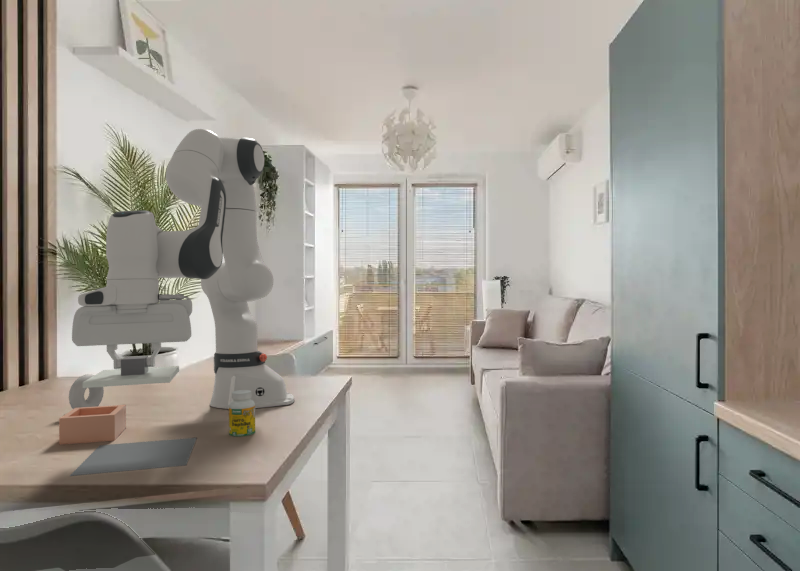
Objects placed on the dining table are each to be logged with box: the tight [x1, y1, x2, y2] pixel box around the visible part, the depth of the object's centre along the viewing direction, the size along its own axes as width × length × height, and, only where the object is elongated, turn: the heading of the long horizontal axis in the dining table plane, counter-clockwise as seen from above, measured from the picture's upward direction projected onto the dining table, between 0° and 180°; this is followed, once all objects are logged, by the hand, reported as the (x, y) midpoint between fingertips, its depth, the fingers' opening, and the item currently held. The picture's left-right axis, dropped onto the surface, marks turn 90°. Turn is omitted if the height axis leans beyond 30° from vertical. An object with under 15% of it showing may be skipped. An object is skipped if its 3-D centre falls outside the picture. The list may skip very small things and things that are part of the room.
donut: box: [68, 373, 105, 410], centre depth 137 cm, size 10×3×10 cm, turn 168°
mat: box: [69, 437, 198, 477], centre depth 99 cm, size 18×18×1 cm
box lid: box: [83, 355, 180, 389], centre depth 101 cm, size 14×14×4 cm
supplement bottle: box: [228, 390, 256, 437], centre depth 113 cm, size 5×5×10 cm
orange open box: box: [58, 404, 127, 446], centre depth 112 cm, size 10×10×6 cm
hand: (134, 367), depth 101 cm, fingers closed on box lid, 4 cm apart
